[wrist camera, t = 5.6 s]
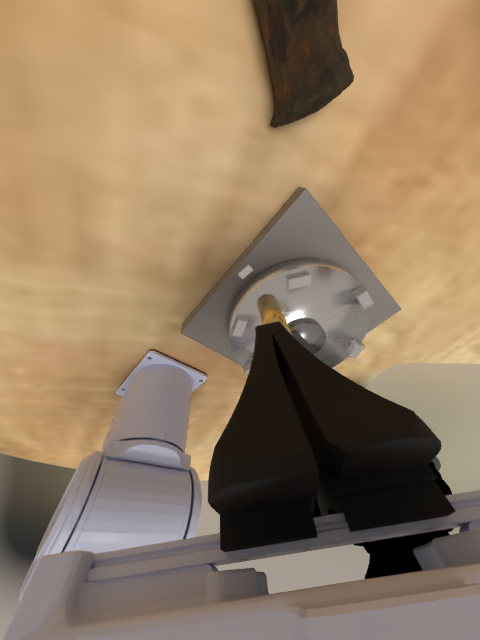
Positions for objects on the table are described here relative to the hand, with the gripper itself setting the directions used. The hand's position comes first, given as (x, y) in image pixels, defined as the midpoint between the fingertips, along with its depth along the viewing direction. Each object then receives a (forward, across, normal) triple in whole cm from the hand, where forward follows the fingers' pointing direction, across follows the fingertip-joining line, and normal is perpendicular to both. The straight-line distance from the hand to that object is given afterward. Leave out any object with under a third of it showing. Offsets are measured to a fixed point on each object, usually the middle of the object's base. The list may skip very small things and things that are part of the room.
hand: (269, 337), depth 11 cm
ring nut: (+8, -3, +6) cm, 10 cm away
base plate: (+9, -3, +6) cm, 11 cm away
